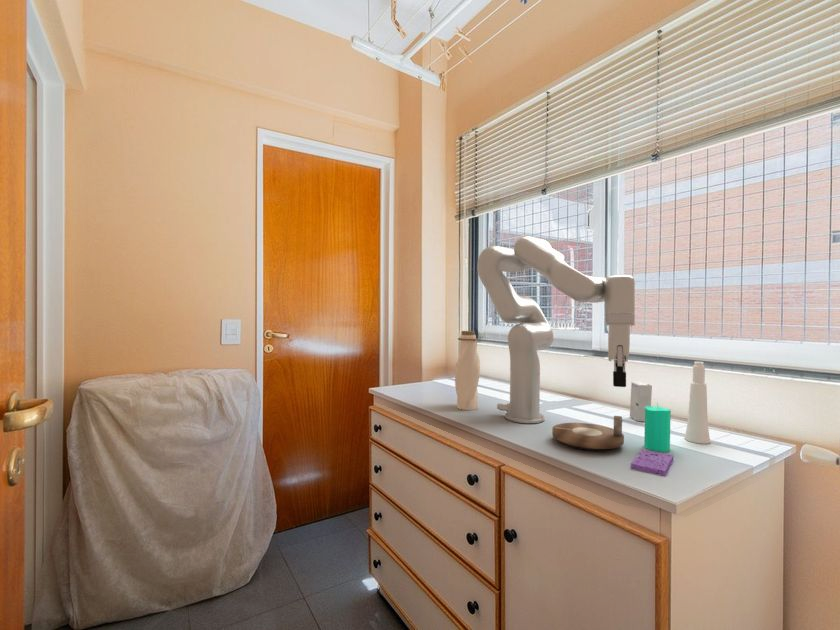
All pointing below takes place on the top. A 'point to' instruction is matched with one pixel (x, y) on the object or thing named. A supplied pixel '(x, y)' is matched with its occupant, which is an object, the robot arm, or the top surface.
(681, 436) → the top surface
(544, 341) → the robot arm
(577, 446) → the turntable base
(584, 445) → the turntable
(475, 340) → the water bottle
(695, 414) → the cosmetic bottle
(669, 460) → the sponges
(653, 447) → the candle
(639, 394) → the skincare box
